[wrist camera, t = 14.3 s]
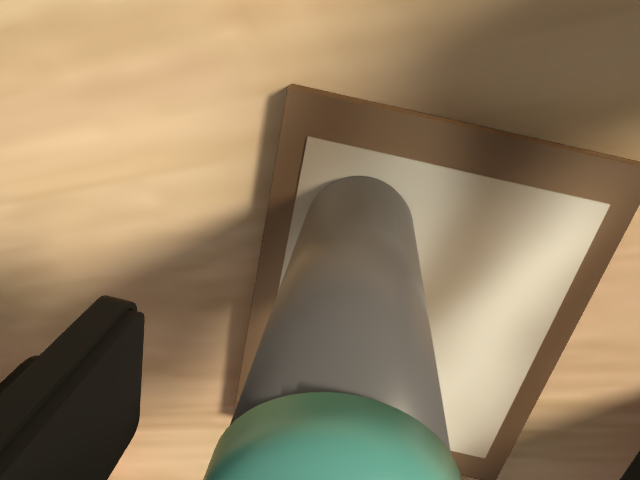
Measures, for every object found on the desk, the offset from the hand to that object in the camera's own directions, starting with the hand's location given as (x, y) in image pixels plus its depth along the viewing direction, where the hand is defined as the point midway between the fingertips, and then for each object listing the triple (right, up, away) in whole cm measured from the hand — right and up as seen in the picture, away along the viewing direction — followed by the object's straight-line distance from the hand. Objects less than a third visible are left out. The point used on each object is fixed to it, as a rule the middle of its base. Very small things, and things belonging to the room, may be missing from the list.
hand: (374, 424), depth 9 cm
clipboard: (+3, +1, +12) cm, 12 cm away
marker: (0, +4, +9) cm, 10 cm away
